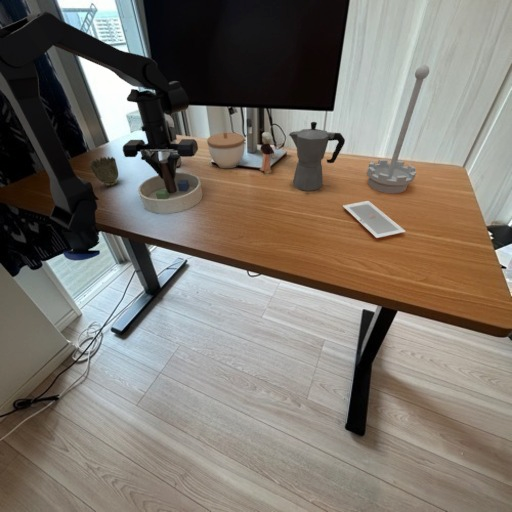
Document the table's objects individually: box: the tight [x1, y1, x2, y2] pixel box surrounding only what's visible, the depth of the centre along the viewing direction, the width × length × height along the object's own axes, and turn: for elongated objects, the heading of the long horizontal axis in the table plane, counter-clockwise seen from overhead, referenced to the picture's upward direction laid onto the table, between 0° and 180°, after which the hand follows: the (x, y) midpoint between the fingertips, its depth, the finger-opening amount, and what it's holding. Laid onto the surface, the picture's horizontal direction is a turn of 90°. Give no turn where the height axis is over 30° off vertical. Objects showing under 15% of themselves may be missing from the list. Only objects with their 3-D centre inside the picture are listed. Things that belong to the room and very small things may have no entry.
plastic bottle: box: [160, 113, 182, 167], centre depth 91 cm, size 6×7×20 cm
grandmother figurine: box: [259, 131, 276, 175], centre depth 87 cm, size 8×4×13 cm, turn 45°
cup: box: [88, 156, 119, 188], centre depth 84 cm, size 8×7×8 cm
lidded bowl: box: [206, 131, 245, 169], centre depth 93 cm, size 13×13×11 cm
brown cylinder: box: [159, 159, 177, 193], centre depth 77 cm, size 3×3×9 cm
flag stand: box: [366, 64, 430, 194], centre depth 72 cm, size 13×13×30 cm
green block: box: [156, 190, 169, 199], centre depth 77 cm, size 2×2×2 cm
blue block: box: [177, 180, 189, 192], centre depth 82 cm, size 2×2×2 cm
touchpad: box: [342, 200, 407, 239], centre depth 67 cm, size 8×15×2 cm, turn 16°
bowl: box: [137, 171, 204, 215], centre depth 78 cm, size 17×17×4 cm
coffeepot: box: [288, 121, 346, 192], centre depth 77 cm, size 15×9×18 cm, turn 72°
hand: (168, 178), depth 77 cm, fingers closed on brown cylinder, 3 cm apart
